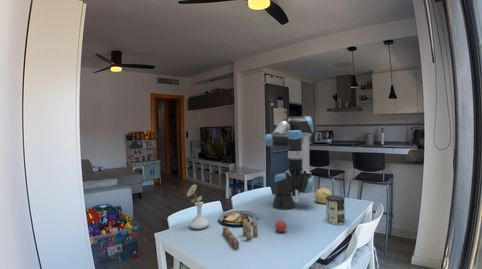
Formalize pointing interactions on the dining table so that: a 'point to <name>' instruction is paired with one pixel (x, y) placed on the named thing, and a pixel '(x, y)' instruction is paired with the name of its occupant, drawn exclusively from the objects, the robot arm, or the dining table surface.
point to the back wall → (231, 238)
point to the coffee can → (335, 209)
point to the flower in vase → (199, 220)
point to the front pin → (255, 228)
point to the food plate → (237, 217)
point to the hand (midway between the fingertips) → (295, 201)
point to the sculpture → (322, 195)
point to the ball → (280, 226)
